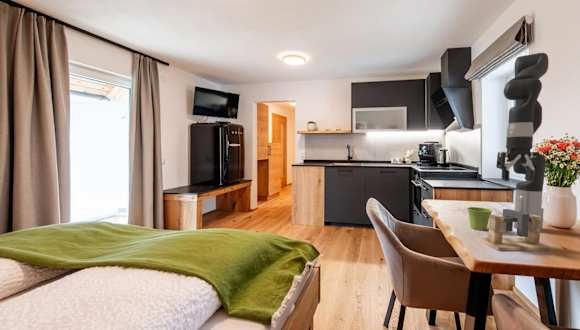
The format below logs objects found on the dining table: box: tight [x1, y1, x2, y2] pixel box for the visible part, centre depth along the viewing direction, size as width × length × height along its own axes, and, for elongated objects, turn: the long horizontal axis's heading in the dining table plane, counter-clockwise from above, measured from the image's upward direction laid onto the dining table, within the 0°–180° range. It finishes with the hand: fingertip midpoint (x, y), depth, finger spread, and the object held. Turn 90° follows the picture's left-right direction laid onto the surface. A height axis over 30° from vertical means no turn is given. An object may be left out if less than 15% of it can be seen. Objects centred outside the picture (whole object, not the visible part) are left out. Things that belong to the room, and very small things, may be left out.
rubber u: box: [502, 208, 529, 238], centre depth 109 cm, size 2×9×8 cm, turn 3°
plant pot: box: [466, 206, 493, 231], centre depth 132 cm, size 9×9×9 cm
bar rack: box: [476, 214, 554, 252], centre depth 109 cm, size 20×11×11 cm, turn 92°
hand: (516, 180), depth 108 cm, fingers open, 8 cm apart
